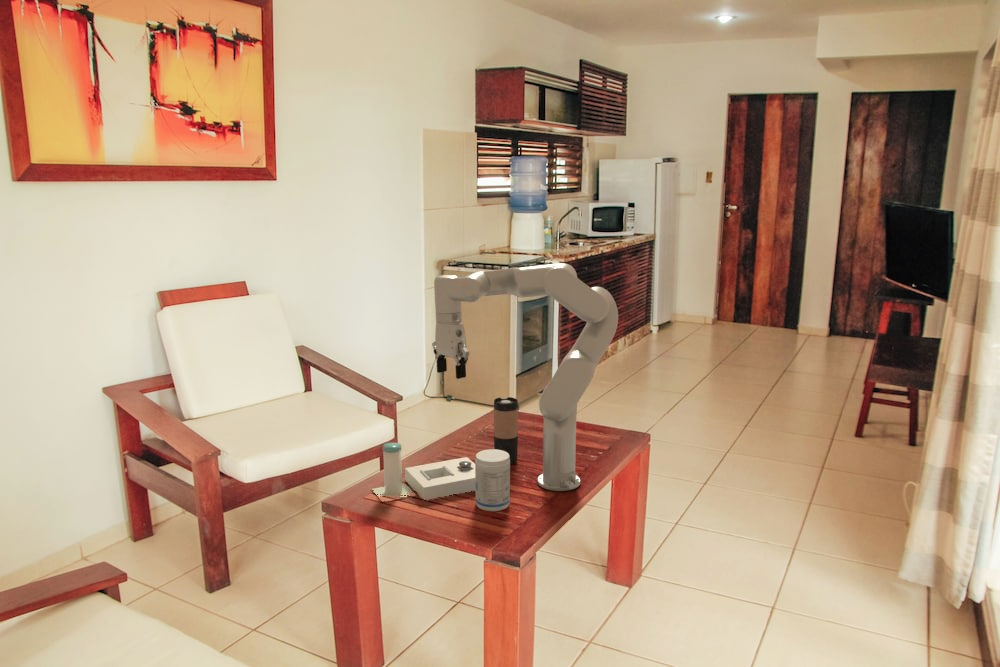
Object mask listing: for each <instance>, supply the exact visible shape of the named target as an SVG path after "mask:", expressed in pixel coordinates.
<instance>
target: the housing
mask: <svg viewBox="0 0 1000 667" xmlns="http://www.w3.org/2000/svg"><path fill="white" fill-rule="evenodd" d="M462 461H468V462H471V466H470V470H467V471H461V470H460V466H459V463H460V462H462ZM404 478H405V480H406V481H407V482H408V483H407V482H406V481H405V482H406V483H407V484H408V485H409V486H410V488H412V489H413V491H414V492H415V491H416V492H417V493H418V494H419V495H420V496H421V497H422V498H423V499H424V500H425V499H431V498H437V497H442V496H447V497H450V496H449V495H452V496H454V495H453V494H457V495H460V494H459V493H462V494H466V493H465V492H467V493H471V491H472V492H476V489H475V462H473V461H472V460H471V459H470V458H469V457H467V456H466V457H461V458H454V459H449V460H444V461H443V460H442V461H436V462H431V463H426V464H419V465H415V466H409V467H405V468H404ZM416 492H415V493H416ZM417 493H416V494H417ZM418 494H417V495H418ZM419 495H418V496H419ZM420 496H419V497H420ZM421 497H420V498H421ZM422 498H421V499H422ZM442 498H443V497H442ZM423 499H422V500H423ZM437 499H438V498H437ZM424 500H423V501H424Z"/></svg>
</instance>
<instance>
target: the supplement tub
mask: <svg viewBox="0 0 1000 667" xmlns="http://www.w3.org/2000/svg"><path fill="white" fill-rule="evenodd" d="M474 461H475V462H474V463H475V489H476V491H475V505H476V507H478V509H480V510H482V511H486V512H500V511H502V510H505V509H507V508H508V507H509V505H510V503H511V464H510V456H509V454H508V453H507V452H505V451H502V450H497V449H493V448H492V449H483V450H481V451H478V452H477V453H476V454H475V459H474Z"/></svg>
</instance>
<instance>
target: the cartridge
mask: <svg viewBox="0 0 1000 667" xmlns="http://www.w3.org/2000/svg"><path fill="white" fill-rule="evenodd" d="M382 452H383V453H382V454H383V455H382V456H383V478H384V479H383V480H384V484H383V485H384V486H383V487H385V494H386V495H390V496H395V495H399V494H401V493H402V483H403V472H402V444H400V443H398V442H388V443H384V444H383V445H382Z"/></svg>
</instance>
